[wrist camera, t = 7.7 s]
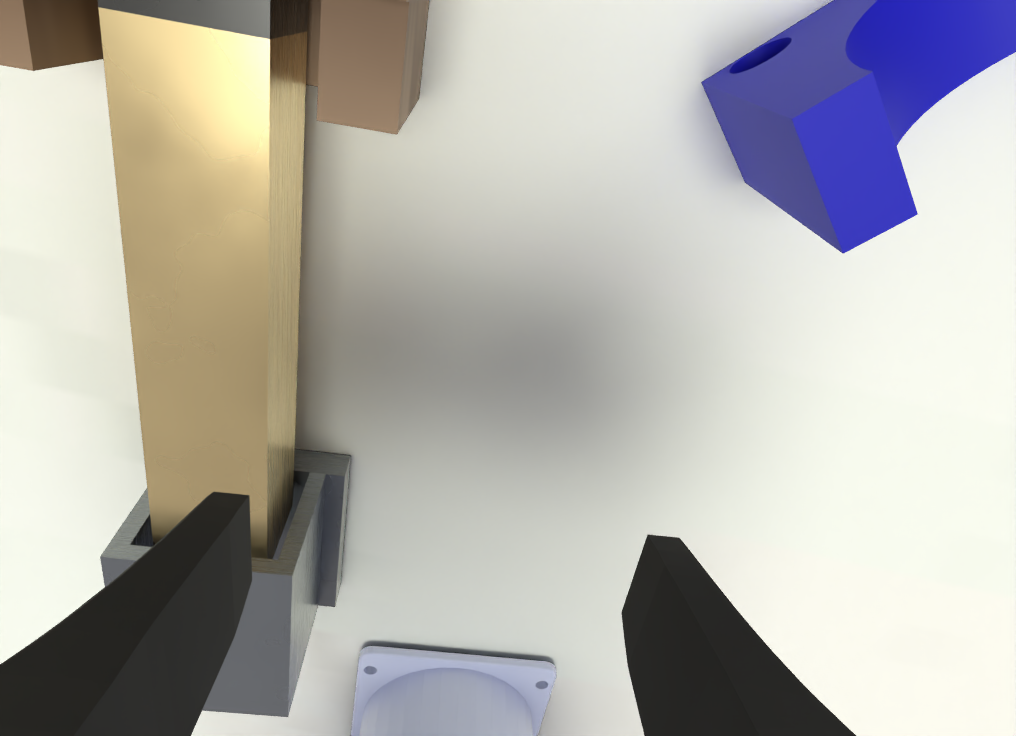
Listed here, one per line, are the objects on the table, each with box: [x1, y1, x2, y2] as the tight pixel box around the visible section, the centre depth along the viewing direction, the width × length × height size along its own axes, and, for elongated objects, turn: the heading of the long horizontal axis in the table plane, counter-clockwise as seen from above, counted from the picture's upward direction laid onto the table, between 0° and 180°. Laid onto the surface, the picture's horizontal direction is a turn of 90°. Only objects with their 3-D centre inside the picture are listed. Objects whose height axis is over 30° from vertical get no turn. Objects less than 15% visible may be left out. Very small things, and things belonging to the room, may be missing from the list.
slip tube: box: [98, 0, 308, 559], centre depth 17 cm, size 14×3×3 cm, turn 170°
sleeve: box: [100, 449, 351, 717], centre depth 21 cm, size 6×6×5 cm
